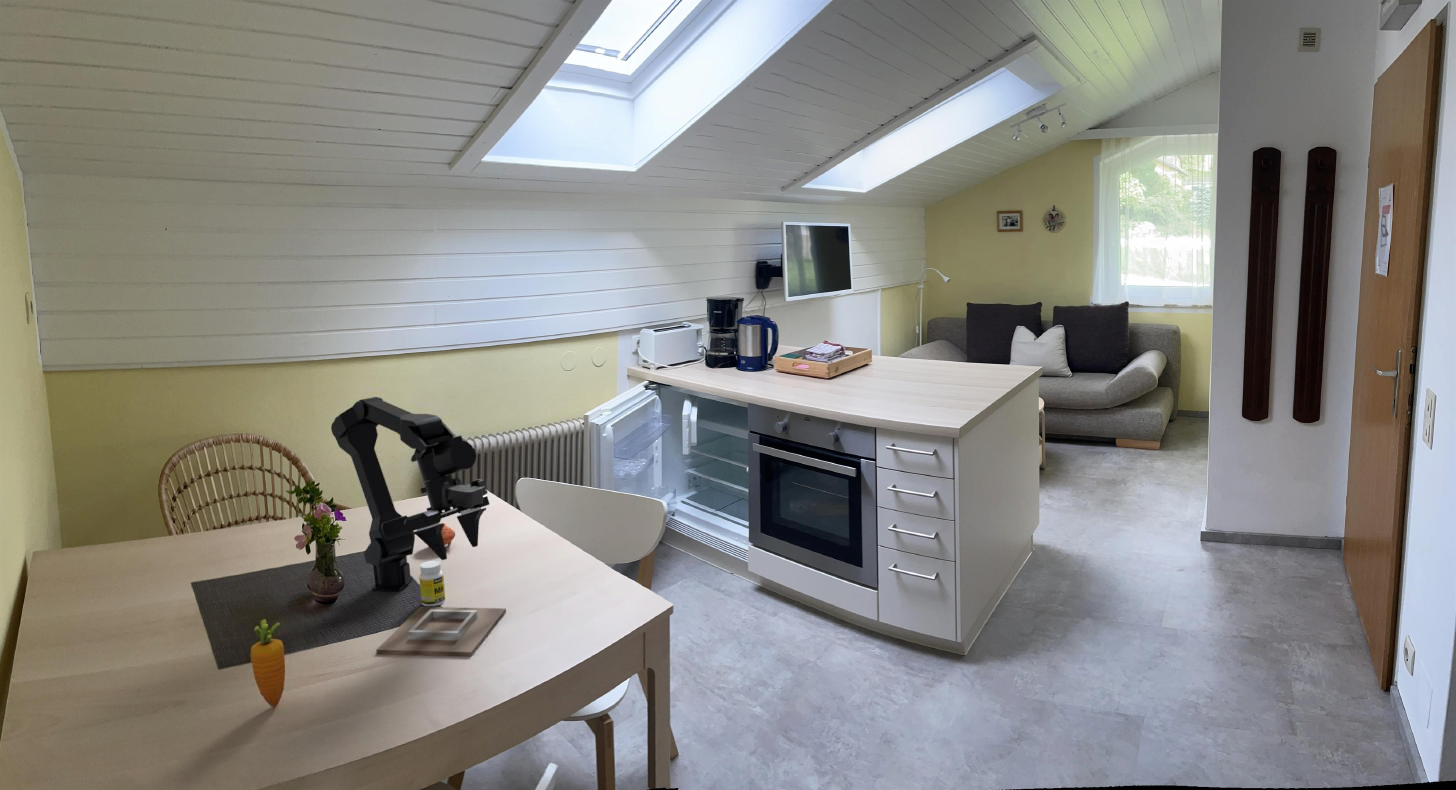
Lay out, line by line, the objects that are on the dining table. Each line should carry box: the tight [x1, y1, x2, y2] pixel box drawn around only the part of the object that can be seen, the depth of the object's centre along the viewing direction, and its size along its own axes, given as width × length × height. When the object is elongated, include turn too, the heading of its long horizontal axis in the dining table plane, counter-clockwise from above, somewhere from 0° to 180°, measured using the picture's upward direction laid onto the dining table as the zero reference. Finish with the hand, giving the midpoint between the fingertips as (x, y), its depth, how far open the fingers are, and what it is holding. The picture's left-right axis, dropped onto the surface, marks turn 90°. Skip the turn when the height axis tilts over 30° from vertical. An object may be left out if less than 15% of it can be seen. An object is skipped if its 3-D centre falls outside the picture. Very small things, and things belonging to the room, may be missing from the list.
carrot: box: [250, 618, 286, 708], centre depth 136 cm, size 5×5×15 cm
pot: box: [421, 522, 456, 548], centre depth 205 cm, size 8×8×7 cm
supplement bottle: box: [418, 560, 446, 607], centre depth 175 cm, size 5×5×8 cm
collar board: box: [375, 606, 507, 657], centre depth 162 cm, size 18×18×2 cm
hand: (460, 553), depth 168 cm, fingers open, 9 cm apart
